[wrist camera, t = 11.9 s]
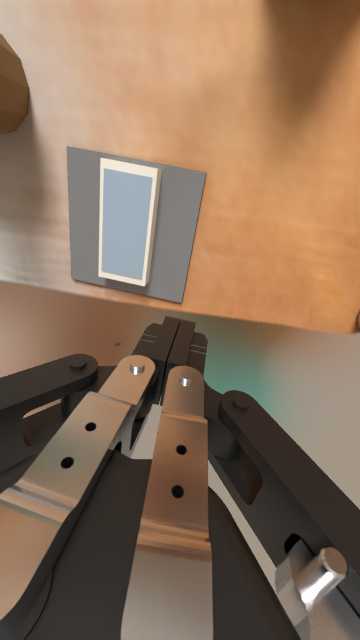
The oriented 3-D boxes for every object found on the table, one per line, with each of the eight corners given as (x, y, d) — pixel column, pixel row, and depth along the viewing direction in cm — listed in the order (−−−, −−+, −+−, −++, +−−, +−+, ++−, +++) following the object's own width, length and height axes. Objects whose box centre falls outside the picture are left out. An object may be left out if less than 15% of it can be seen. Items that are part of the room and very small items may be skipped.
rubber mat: (206, 172, 33) (206, 172, 33) (182, 301, 42) (181, 303, 42) (69, 146, 34) (66, 146, 34) (73, 277, 43) (71, 278, 43)
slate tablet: (149, 280, 41) (162, 169, 33) (144, 286, 38) (157, 168, 31) (105, 271, 41) (108, 159, 34) (98, 276, 39) (99, 157, 31)
